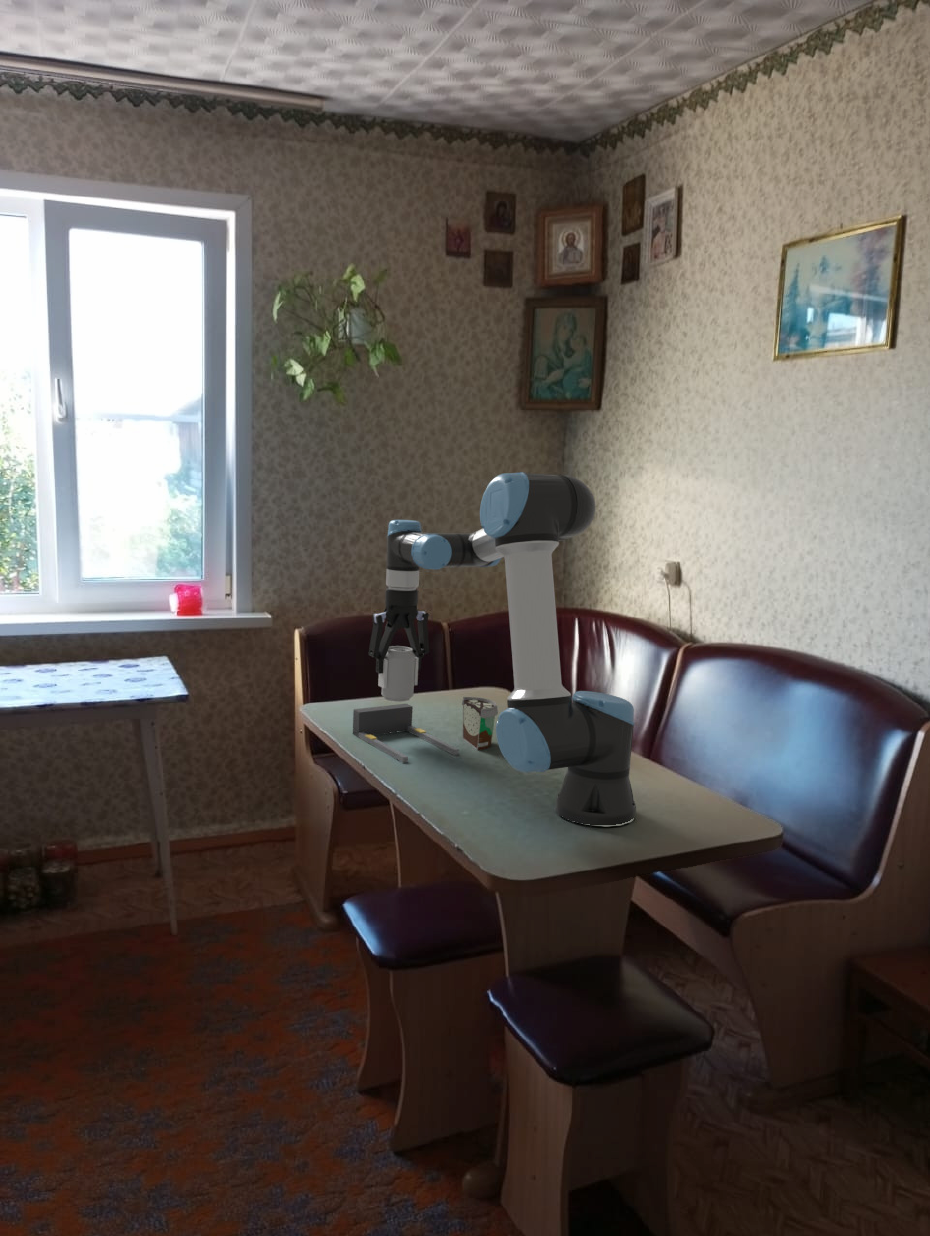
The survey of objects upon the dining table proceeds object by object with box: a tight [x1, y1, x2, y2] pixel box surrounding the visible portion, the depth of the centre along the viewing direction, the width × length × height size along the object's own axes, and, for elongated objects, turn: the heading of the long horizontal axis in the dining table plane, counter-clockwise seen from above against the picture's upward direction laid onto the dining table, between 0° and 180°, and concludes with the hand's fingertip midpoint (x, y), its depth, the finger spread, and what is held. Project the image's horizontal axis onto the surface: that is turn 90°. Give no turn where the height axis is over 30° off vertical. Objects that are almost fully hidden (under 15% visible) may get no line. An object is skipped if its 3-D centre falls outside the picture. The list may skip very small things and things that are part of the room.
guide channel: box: [352, 703, 460, 764], centre depth 221 cm, size 24×15×6 cm, turn 33°
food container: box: [461, 696, 499, 751], centre depth 224 cm, size 12×6×10 cm, turn 22°
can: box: [380, 645, 415, 703], centre depth 222 cm, size 8×8×12 cm
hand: (397, 685), depth 223 cm, fingers closed on can, 7 cm apart
